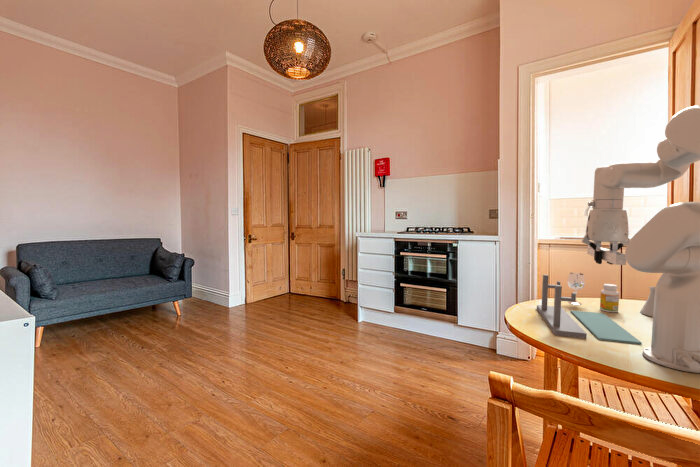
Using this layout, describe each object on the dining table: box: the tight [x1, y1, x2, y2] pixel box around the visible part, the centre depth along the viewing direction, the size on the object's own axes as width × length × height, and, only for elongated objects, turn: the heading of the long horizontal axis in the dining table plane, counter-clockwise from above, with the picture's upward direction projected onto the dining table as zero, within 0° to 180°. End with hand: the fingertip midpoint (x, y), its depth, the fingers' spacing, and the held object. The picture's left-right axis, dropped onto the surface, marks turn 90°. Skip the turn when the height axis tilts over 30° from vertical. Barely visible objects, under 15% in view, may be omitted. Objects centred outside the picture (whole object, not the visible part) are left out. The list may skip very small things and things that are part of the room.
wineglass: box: [567, 272, 586, 306], centre depth 133 cm, size 6×6×12 cm
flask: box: [640, 286, 656, 318], centre depth 118 cm, size 7×7×10 cm
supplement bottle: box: [599, 283, 620, 313], centre depth 123 cm, size 5×5×10 cm
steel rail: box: [586, 245, 627, 266], centre depth 106 cm, size 24×2×3 cm, turn 160°
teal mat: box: [570, 310, 643, 345], centre depth 107 cm, size 28×10×1 cm, turn 160°
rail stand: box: [536, 274, 587, 339], centre depth 111 cm, size 28×8×14 cm, turn 160°
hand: (604, 263), depth 106 cm, fingers closed on steel rail, 2 cm apart
